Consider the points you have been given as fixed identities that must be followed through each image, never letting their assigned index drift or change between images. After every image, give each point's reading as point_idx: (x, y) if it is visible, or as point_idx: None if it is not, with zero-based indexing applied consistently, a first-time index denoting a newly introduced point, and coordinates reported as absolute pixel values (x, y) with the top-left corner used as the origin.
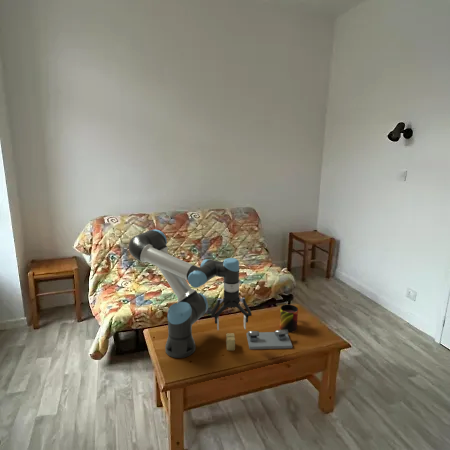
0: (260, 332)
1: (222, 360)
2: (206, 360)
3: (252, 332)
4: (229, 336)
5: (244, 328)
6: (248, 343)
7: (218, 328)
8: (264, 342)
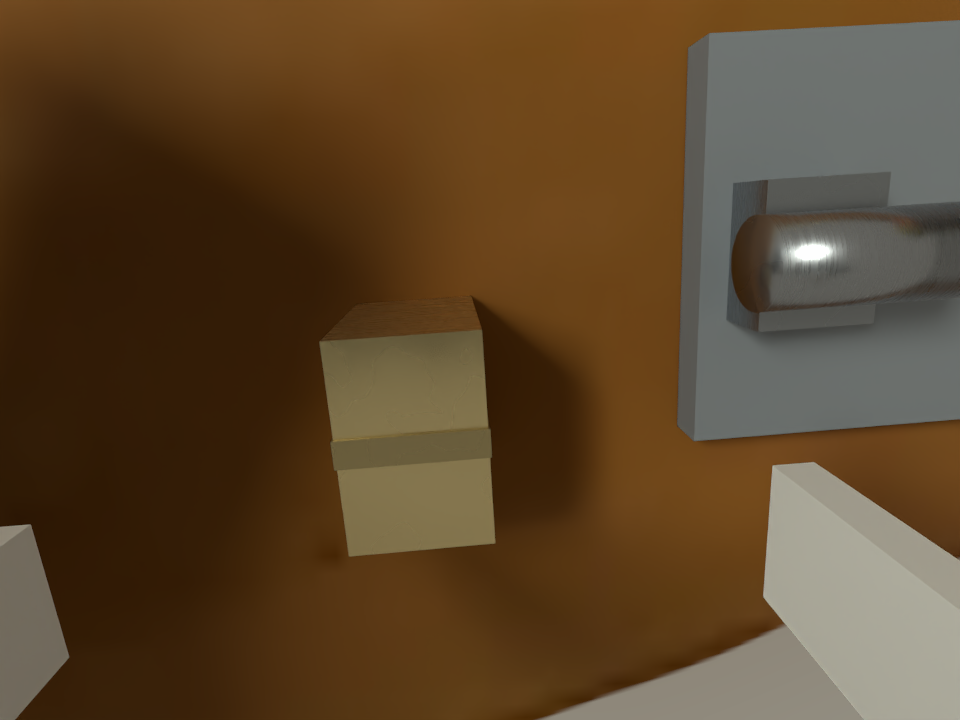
0: (954, 25)
1: (332, 646)
2: (137, 658)
3: (859, 289)
4: (389, 455)
5: (782, 617)
6: (686, 317)
7: (22, 700)
8: (930, 332)
